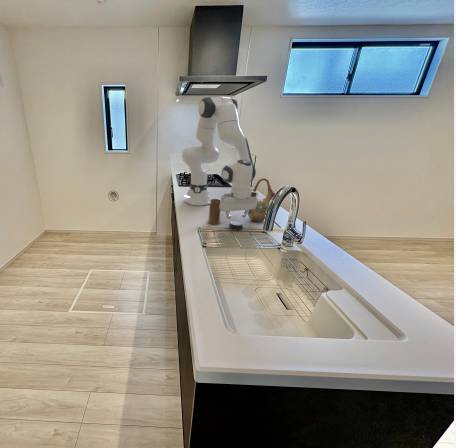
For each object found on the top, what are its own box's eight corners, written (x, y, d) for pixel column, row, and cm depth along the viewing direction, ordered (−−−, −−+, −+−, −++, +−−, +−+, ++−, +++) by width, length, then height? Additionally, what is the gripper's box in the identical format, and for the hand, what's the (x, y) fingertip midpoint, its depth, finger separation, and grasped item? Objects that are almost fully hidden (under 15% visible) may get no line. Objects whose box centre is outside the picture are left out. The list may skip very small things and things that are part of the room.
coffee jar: (208, 220, 141) (210, 198, 136) (219, 221, 139) (221, 199, 134) (207, 224, 135) (209, 201, 130) (219, 225, 134) (221, 202, 128)
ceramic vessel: (268, 218, 143) (275, 176, 134) (274, 223, 135) (282, 180, 126) (240, 217, 144) (246, 176, 135) (244, 223, 136) (251, 179, 126)
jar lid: (244, 227, 130) (245, 223, 129) (238, 231, 126) (239, 226, 125) (233, 224, 134) (233, 220, 133) (227, 227, 130) (227, 223, 129)
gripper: (224, 195, 118) (221, 221, 124) (260, 193, 123) (256, 218, 128) (218, 192, 124) (215, 217, 129) (253, 190, 128) (249, 214, 134)
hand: (236, 217), depth 129 cm, fingers open, 8 cm apart
